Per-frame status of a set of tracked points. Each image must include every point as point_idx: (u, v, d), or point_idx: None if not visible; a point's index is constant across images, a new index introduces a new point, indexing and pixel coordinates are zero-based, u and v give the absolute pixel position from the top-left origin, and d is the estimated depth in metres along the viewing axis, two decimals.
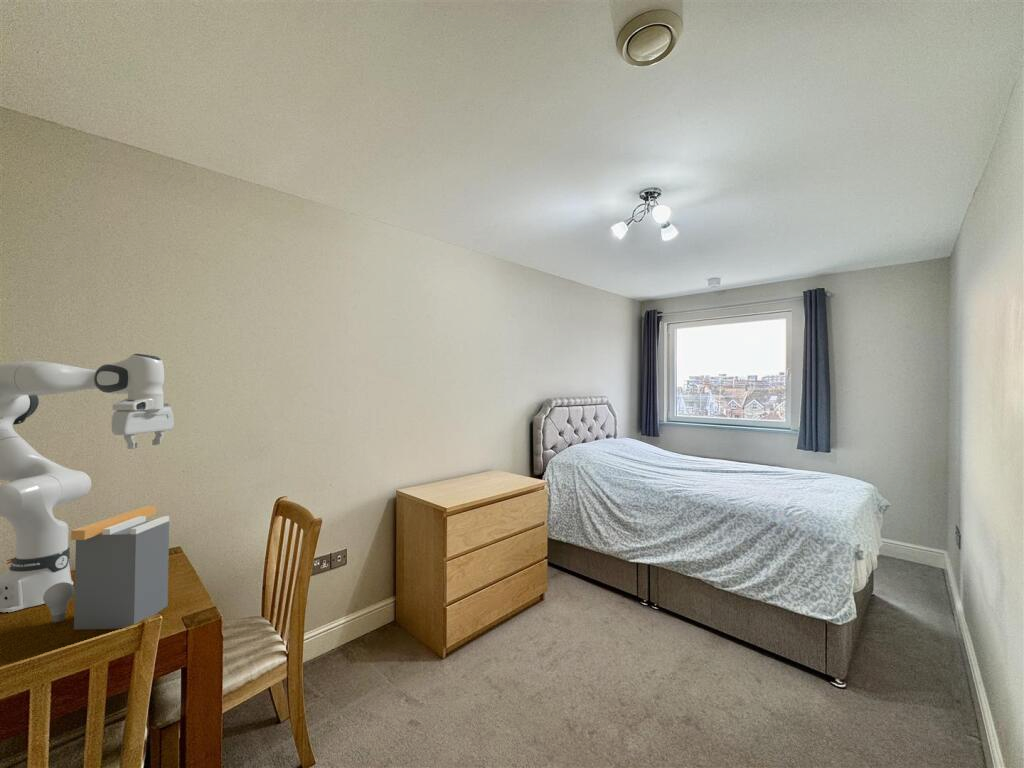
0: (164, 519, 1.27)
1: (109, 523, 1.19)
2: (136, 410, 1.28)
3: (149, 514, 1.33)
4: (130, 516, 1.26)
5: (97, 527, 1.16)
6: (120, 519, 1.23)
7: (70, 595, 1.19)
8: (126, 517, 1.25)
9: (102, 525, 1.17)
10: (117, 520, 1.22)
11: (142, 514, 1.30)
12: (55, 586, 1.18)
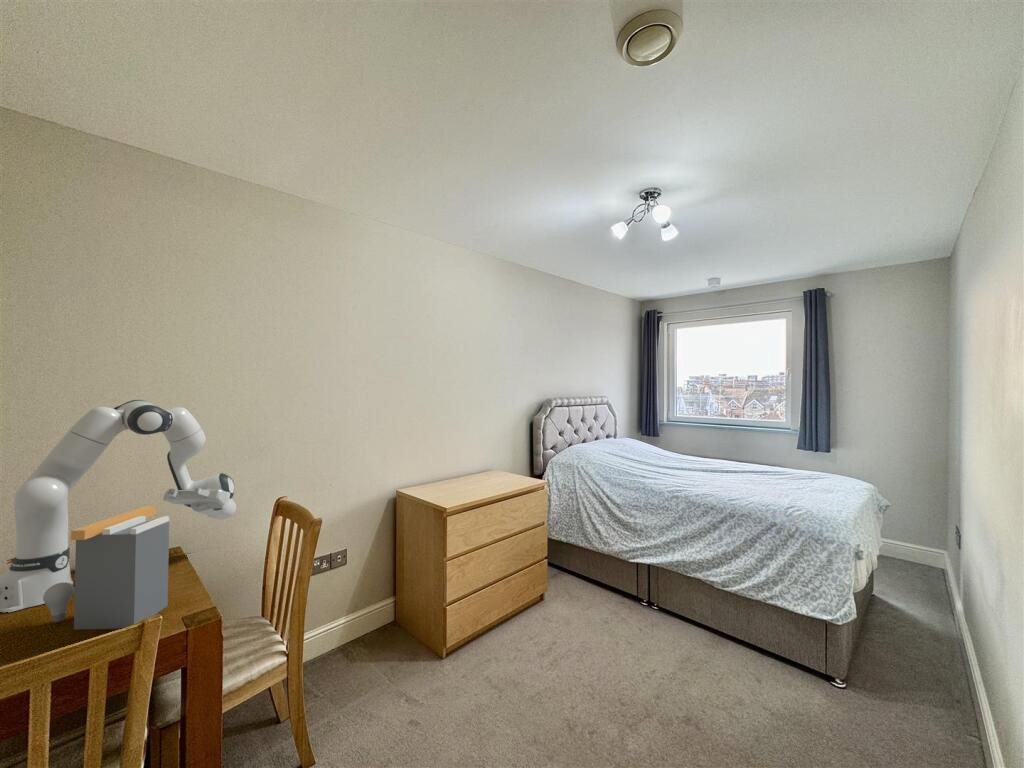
0: (164, 519, 1.27)
1: (109, 523, 1.19)
2: (219, 507, 1.59)
3: (149, 514, 1.33)
4: (130, 516, 1.26)
5: (97, 527, 1.16)
6: (120, 519, 1.23)
7: (70, 595, 1.19)
8: (126, 517, 1.25)
9: (102, 525, 1.17)
10: (117, 520, 1.22)
11: (142, 514, 1.30)
12: (55, 586, 1.18)
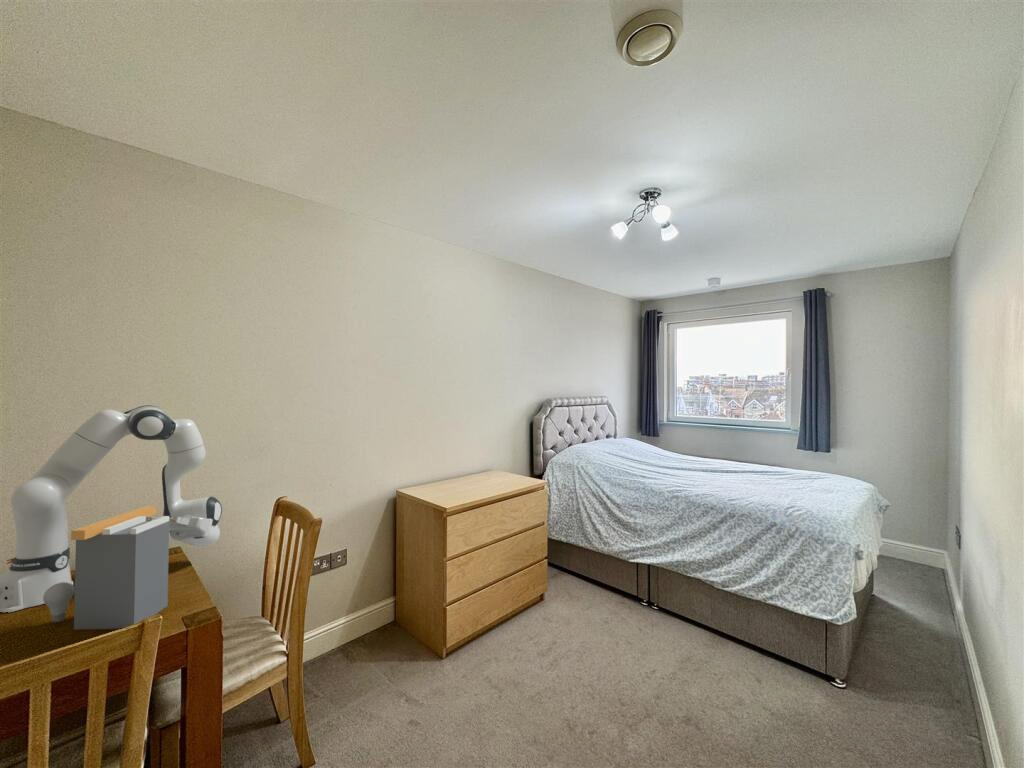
0: (164, 519, 1.27)
1: (109, 523, 1.19)
2: (200, 535, 1.49)
3: (149, 514, 1.33)
4: (130, 516, 1.26)
5: (97, 527, 1.16)
6: (120, 519, 1.23)
7: (70, 595, 1.19)
8: (126, 517, 1.25)
9: (102, 525, 1.17)
10: (117, 520, 1.22)
11: (142, 514, 1.30)
12: (55, 586, 1.18)
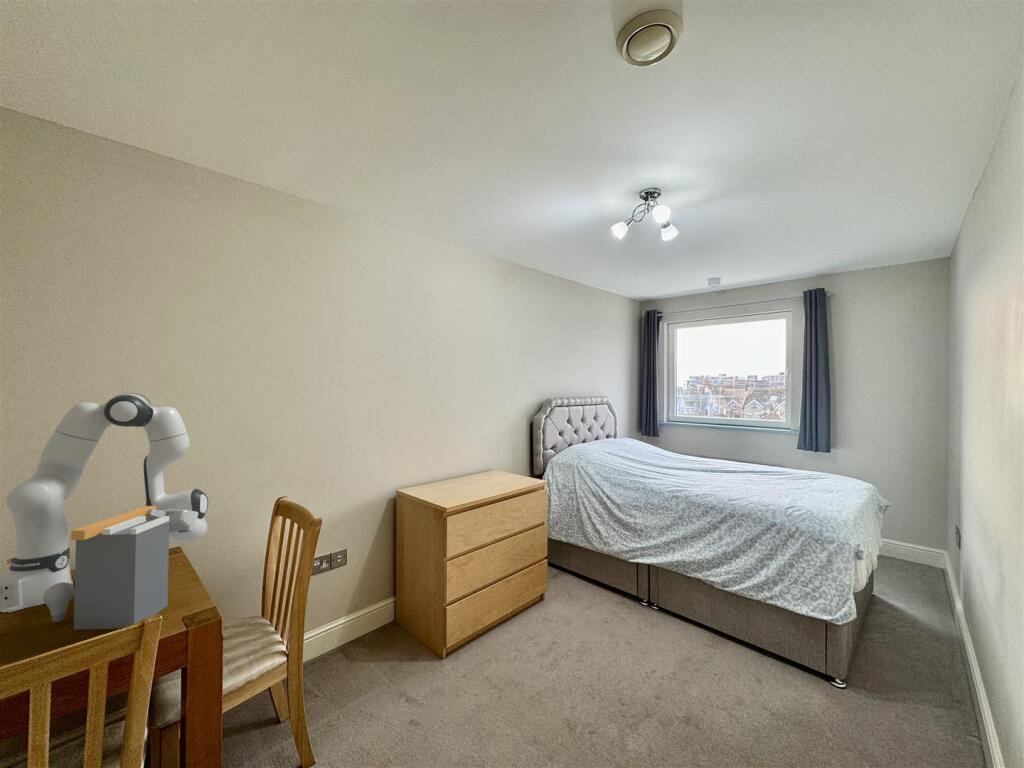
0: (164, 519, 1.27)
1: (109, 523, 1.19)
2: (184, 529, 1.41)
3: None
4: (130, 516, 1.26)
5: (97, 527, 1.16)
6: (120, 519, 1.23)
7: (70, 595, 1.19)
8: (126, 517, 1.25)
9: (102, 525, 1.17)
10: (117, 520, 1.22)
11: (142, 514, 1.30)
12: (55, 586, 1.18)
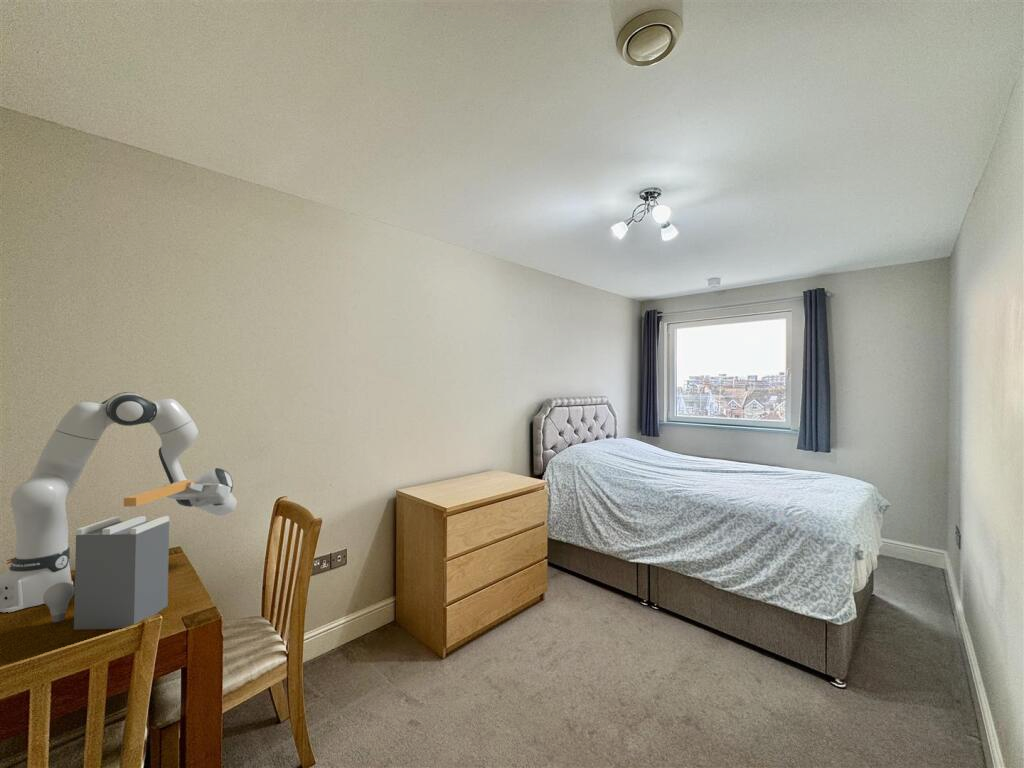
0: (164, 519, 1.27)
1: (156, 493, 1.30)
2: (219, 502, 1.52)
3: None
4: (173, 488, 1.37)
5: (146, 496, 1.26)
6: (164, 490, 1.33)
7: (70, 595, 1.19)
8: (169, 488, 1.35)
9: (150, 494, 1.28)
10: (162, 490, 1.32)
11: (182, 487, 1.41)
12: (55, 586, 1.18)
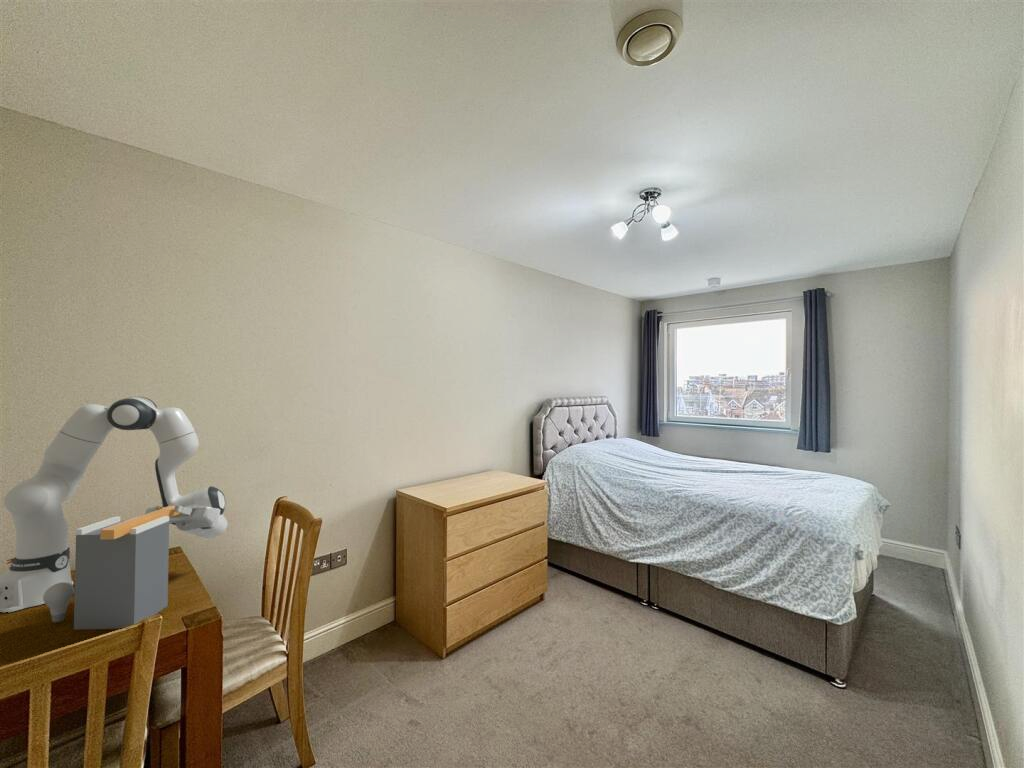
0: (164, 519, 1.27)
1: (136, 523, 1.20)
2: (207, 526, 1.42)
3: (173, 514, 1.34)
4: (156, 516, 1.27)
5: (125, 527, 1.16)
6: (147, 519, 1.23)
7: (70, 595, 1.19)
8: (152, 517, 1.25)
9: (130, 525, 1.18)
10: (144, 520, 1.22)
11: (167, 514, 1.31)
12: (55, 586, 1.18)
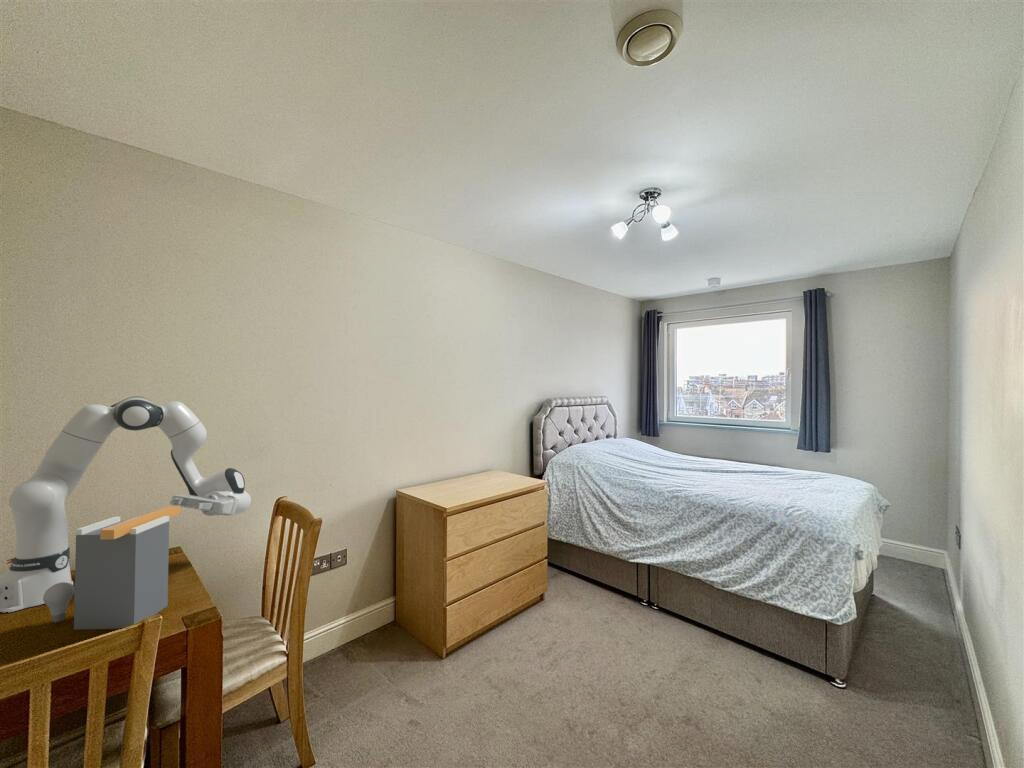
0: (164, 519, 1.27)
1: (136, 523, 1.20)
2: (226, 514, 1.53)
3: (173, 514, 1.34)
4: (156, 516, 1.27)
5: (125, 527, 1.16)
6: (147, 519, 1.23)
7: (70, 595, 1.19)
8: (152, 517, 1.25)
9: (130, 525, 1.18)
10: (144, 520, 1.22)
11: (167, 514, 1.31)
12: (55, 586, 1.18)
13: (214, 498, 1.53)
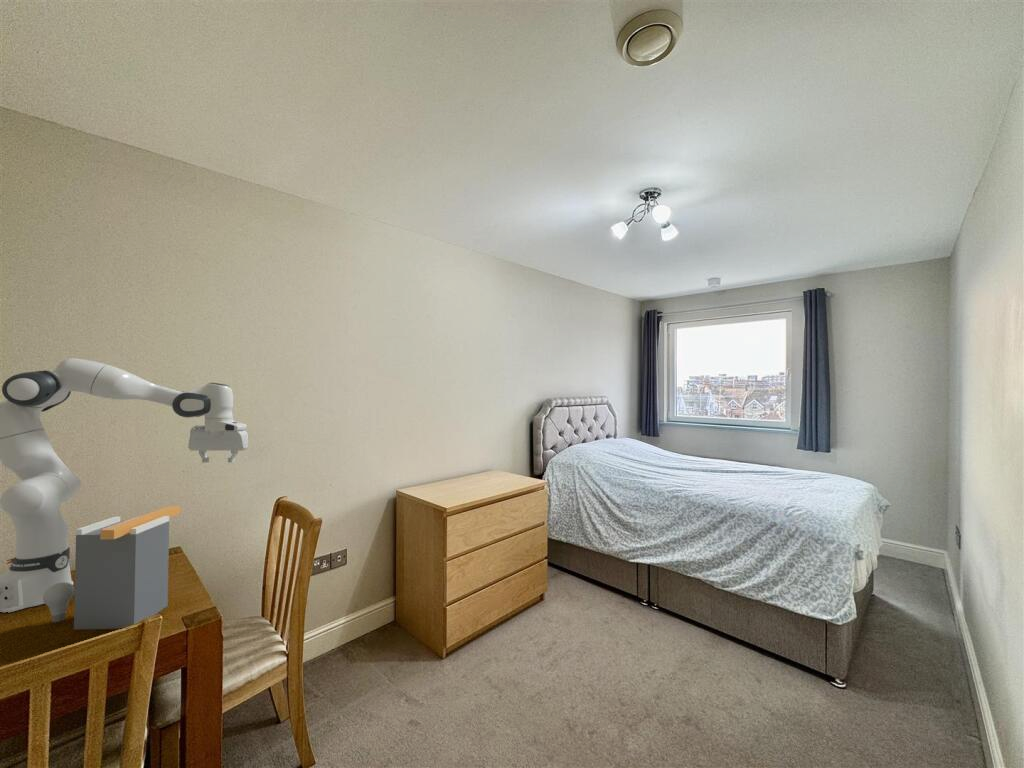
0: (164, 519, 1.27)
1: (136, 523, 1.20)
2: None
3: (173, 514, 1.34)
4: (156, 516, 1.27)
5: (125, 527, 1.16)
6: (147, 519, 1.23)
7: (70, 595, 1.19)
8: (152, 517, 1.25)
9: (130, 525, 1.18)
10: (144, 520, 1.22)
11: (167, 514, 1.31)
12: (55, 586, 1.18)
13: (220, 435, 1.56)
